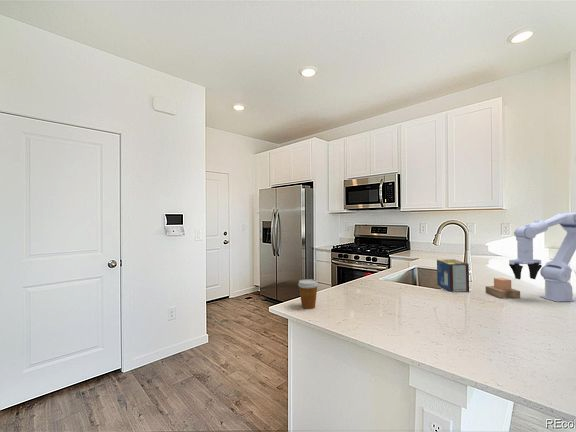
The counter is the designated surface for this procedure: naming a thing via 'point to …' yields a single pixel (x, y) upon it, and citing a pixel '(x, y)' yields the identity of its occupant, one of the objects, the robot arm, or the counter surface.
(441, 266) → the protein box
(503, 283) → the terracotta block
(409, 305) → the counter surface
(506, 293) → the walnut base
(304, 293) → the disposable coffee cup
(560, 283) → the robot arm
